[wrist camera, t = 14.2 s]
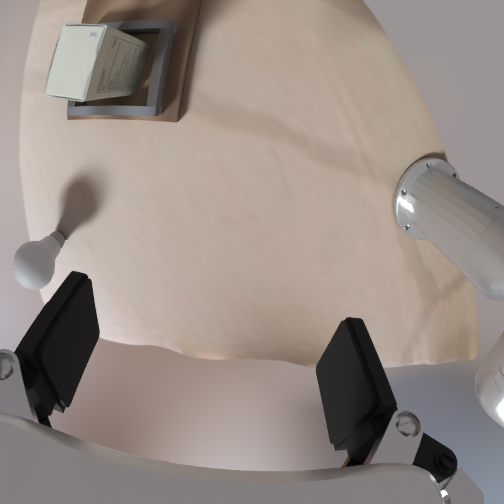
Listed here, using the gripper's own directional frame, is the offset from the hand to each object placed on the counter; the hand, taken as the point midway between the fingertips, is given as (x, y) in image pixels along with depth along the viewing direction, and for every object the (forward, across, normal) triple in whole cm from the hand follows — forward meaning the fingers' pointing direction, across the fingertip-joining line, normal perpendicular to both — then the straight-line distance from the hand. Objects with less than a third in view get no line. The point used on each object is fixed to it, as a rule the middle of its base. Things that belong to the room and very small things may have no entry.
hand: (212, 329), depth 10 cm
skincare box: (+24, +14, -10) cm, 30 cm away
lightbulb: (+25, +24, +14) cm, 37 cm away
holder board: (+26, +14, -13) cm, 32 cm away
